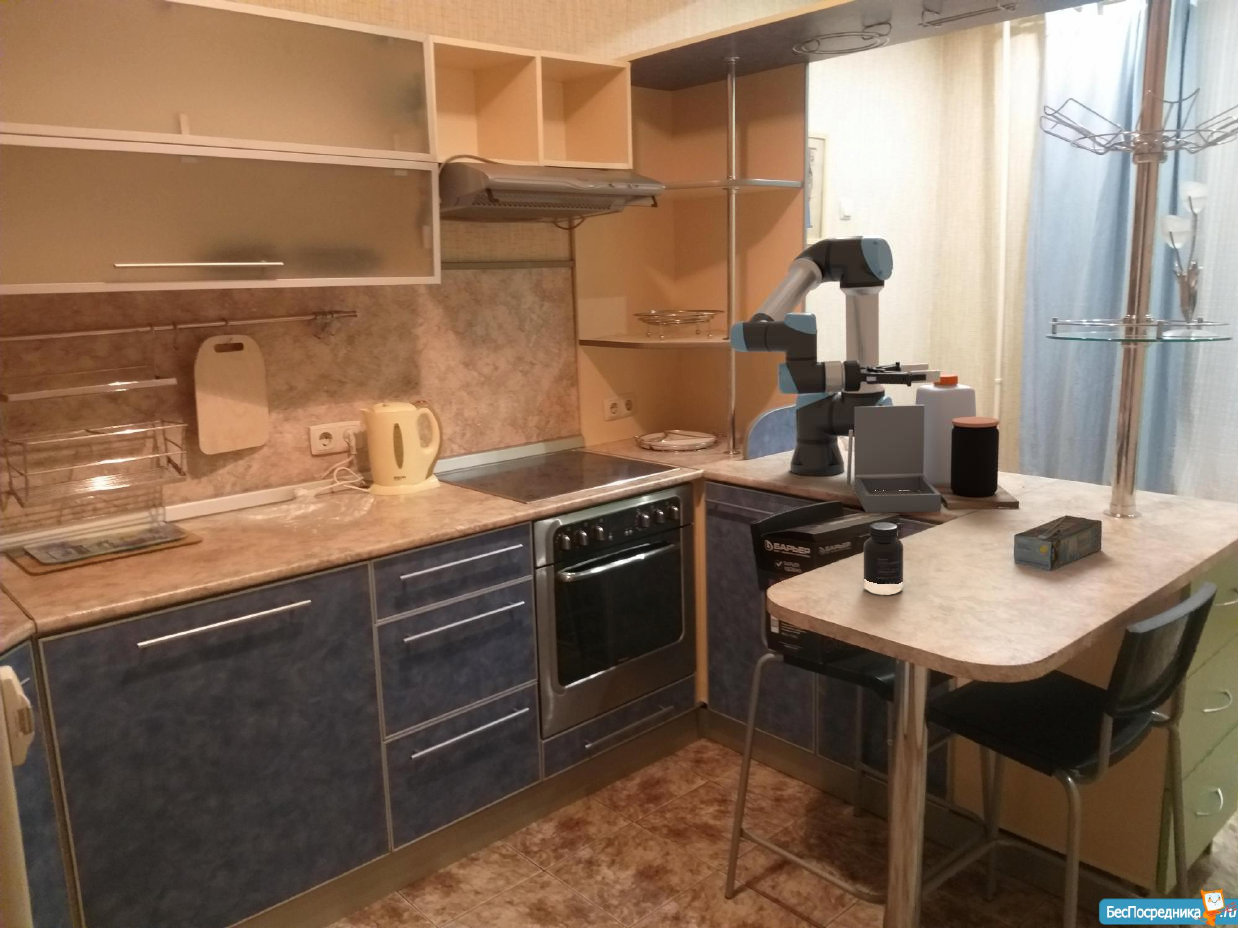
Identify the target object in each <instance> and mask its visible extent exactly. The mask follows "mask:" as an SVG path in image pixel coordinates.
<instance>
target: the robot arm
mask: <svg viewBox="0 0 1238 928" xmlns="http://www.w3.org/2000/svg"><path fill="white" fill-rule="evenodd" d="M893 258H894V257H893V252H892V250H891V247H890V244H889V243H888V240H886V239H885V238H884V237H883V236H881V235H878V234H877V235H876V234H875V235H873V234H872V235H869V234H868V235H867V234H863V235H854V236H853V235H852V236H841V237H827V238H824V239H822V240H819V241H817V242H815V243H813V244H812V245H810V246H808V247H807V248H806V249H805V250H803V251H802V252H801V253H799V254H798V255H797V256H796V258H794V259H793V261H792V262H790V265H789V266H788V269H787V273H786V274H785V276H784V277H783V278H782V280H781V281H780V282H779V283H778V285H777V286H775V288H774V289H773V291H772V292H771V293H770V294H769V295H768V296H767V298H766V299H765V300H764V302H763V303H762V304H760V307H758V309H756V311H755V312H754V314H753V315H752V316H751V317H750V318H749V319H748V321H745V320H742V321H738V322H735V323H733V324H732V325H731V328H730V330H729V331H730V332H729V342H730V344H731V345H730V346H731V348H732V349H733V350H734V351H736V352H740V353H741V352H742V353H748V354H749V353H785V362H783V363H779V364H778V365H777V388H778V391H779V393H781V394H783V395H787V394H788V395H797V396H796V399H795V407H794V411H795V438H796V439H795V440H796V441H795V448H794V451H793V453H792V456H791V459H790V463H789V464H790V465H789V466H790V470H791V471H792V472H791V471H790V472H791V473H793V472H794V473H793V474H795V473H798V474H797V475H800V474H802V475H801V476H810V475H814V476H815V477H817V476H818V477H820V476H822V477H823V476H832V475H837V474H841V473H843V472H845V461H844V458H843V455H842V452H841V449H840V445H839V441H838V440H839V439H838V438H839V437H847V438H849V430H853V438H854V407H863V406H894V403H893V399H892V398H891V397H890V396H889V395H886V390H885V387H884V386H883V385H905V386H906V387H908V388H909V387H912V384H923V383H933V382H940V374H941V370H940V369H933V370H930V369H929V367H930V366H929V363H912V364H910V363H907V364H901V362H900V361H896V362H895V363H892V364H885V365H882V364H881V365H880V335H879V333H880V331H879V330H880V329H879V328H880V322H879V321H880V320H879V319H880V318H879V317H880V314H879V312H880V307H879V303H880V302H879V300H880V299H879V294H880V292H881V291H882V290H883V289H884V288H885V281H887V280H889V279H890V278H891V277H892V273H893V270H894V261H893V260H894V259H893ZM830 282H832V283H833V282H834V283H836V282H838V283H839V290H840V291H841V292H842V293H843V294H844V295H845V357H846V359H845V360H844V361H843V362H842V361H841V360H829V361H828V360H826V361H825V360H824V361H818V328H817V327H818V326H817V317H816V315H815V314H814V313H813V312H809V311H808V312H804V311H803V312H795V311H796V309H797V308H798V307H799V306H800V304H801V303H802V302H803V300H805V298H806V297H807V295H808V294H809V293H810V292H811V291H814V290H816V289H817V288H819V286H820V285H821V284H824V283H830ZM839 393H840V394H839Z"/></svg>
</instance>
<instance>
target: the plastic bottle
mask: <svg viewBox="0 0 1238 928" xmlns="http://www.w3.org/2000/svg"><path fill="white" fill-rule="evenodd" d="M958 381H959V377H958V375H957V374H952V373H951V374H950V373H949V374H947V373H946V374H944V373H943V374H941V373H940V382H932V383H933V384H927V385H926V384H925V385H921V386H919V387H917V389H916V391H915V392H916V393H915V404H914V405H924V470H923V474H924V477H925V478H926V479H927V480H928V481H929V482H930V483H931V484H932V485H933V486H940V485H951V435H952V429H953V428H954V425H953V424H952V420H953V419H955V418H961V417H977V406H976V405H977V403H976V391H975V389H974V387H971V386H968V385H965V384H960V383H959V382H958Z"/></svg>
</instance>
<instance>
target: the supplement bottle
mask: <svg viewBox="0 0 1238 928" xmlns="http://www.w3.org/2000/svg"><path fill="white" fill-rule="evenodd" d="M868 530H869V531H868V536H869V538H867V539H866V540H865V541H864V543H863V580H864V579H866V580H867V581H869V582H873V583H877V584H899V583H901V582H903V583H904V545H903V542H902V541H901V540H900V539H898V538H897V537H899V532H898V531H899V529H898V525H897V524H895V523H892V522H886V521H885V522H883V521H881V522H880V521H879V522H873V523H870V524H869V529H868Z"/></svg>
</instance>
